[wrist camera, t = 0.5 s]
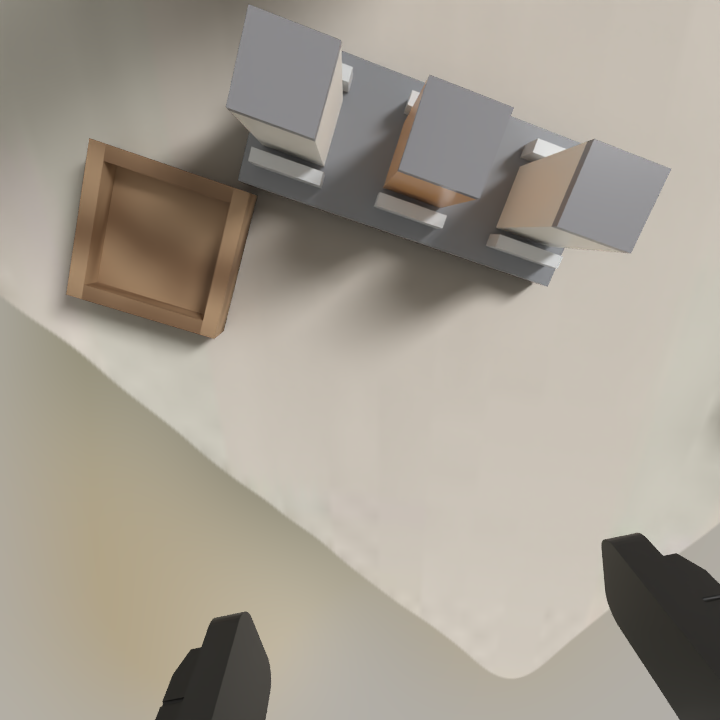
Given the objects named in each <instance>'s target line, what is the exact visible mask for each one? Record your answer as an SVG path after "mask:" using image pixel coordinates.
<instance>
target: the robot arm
mask: <svg viewBox="0 0 720 720" xmlns="http://www.w3.org/2000/svg"><path fill="white" fill-rule="evenodd" d="M602 558H603V570H604V582H605V592H606V598H607V601H608V604H609V607H610V610H611V612H612V614H613V617H614V619H615V621H616V622H617V624H618V626H619V627H620V629H621V630H622V632H623V634H624V635H625V637H626V638H627V639H628V641H629V643H630V644H631V646H632V647H633V649H634V650H635V652H636V653H637V655H638V656H639V658H640V660H641V661H642V663H643V664H644V666H645V667H646V669H647V670H648V672H649V673H650V675H651V676H652V678H653V679H654V681H655V682H656V684H657V685H658V687H659V688H660V690H661V692H662V693H663V695H664V696H665V698H666V699H667V701H668V702H669V704H670V705H671V707H672V708H673V710H674V711H675V713H676V715H677V716H678V718H679V719H680V720H720V584H719V583H718V582H717V581H716V580H715V579H714V578H713V577H712V576H711V575H710V574H709V573H708V572H707V571H706V570H704V569H702V568H701V567H699V566H697V565H696V564H694V563H692V562H690V561H689V560H687V559H685V558H684V557H682V556H680V555H678V554H677V553H676V554H671V555H666V556H663V555H662V554H661V553H660V552H659V551H658V550H657V549H656V548H655V547H654V546H653V545H652V543H651V542H650V541H649V540H648V539H647V538H646V537H645V536H644V535H642V534H640V533H634V534H630V535H625V536H620V537H615V538H610V539H605V540H603V541H602ZM270 688H271V672H270V664H269V660H268V657H267V655H266V652H265V650H264V647H263V645H262V642H261V640H260V638H259V635H258V632H257V630H256V628H255V625H254V623H253V620H252V618H251V616H250V614H249V613H248V612H241V613H237V614H232V615H227V616H222V617H217V618H214V619H213V620H212V621H211V623H210V625H209V627H208V630H207V633H206V636H205V638H204V641H203V644H202V647H201V648H196V649H191V650H190V652H189V653H188V654H187V656H186V657H185V658H184V660H183V661H182V663H181V664H180V665H179V667H178V668H177V670H176V671H175V672H174V674H173V676H172V678H171V681H170V684H169V686H168V689H167V691H166V694H165V696H164V699H163V706H162V707H160V709H159V712H158V714H157V717H156V719H155V720H265V719H266V713H267V707H268V701H269V695H270Z"/></svg>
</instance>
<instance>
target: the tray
mask: <svg viewBox="0 0 720 720" xmlns="http://www.w3.org/2000/svg"><path fill="white" fill-rule="evenodd" d="M256 199H257V196H256V195H254V194H251V193H249V192H246V191H243V190H240V189H237V188H234V187H231V186H228V185H225V184H222V183H219V182H216V181H213V180H210V179H207V178H204V177H202V176H199V175H196V174H193V173H190V172H187V171H184V170H181V169H178V168H175V167H172V166H169V165H166V164H163V163H160V162H158V161H155V160H152V159H149V158H146V157H143V156H140V155H137V154H134V153H131V152H128V151H125V150H122V149H119V148H116V147H113V146H111V145H108V144H105V143H102V142H99V141H96V140H93V139H90V138H89V144H88V151H87V157H86V164H85V171H84V178H83V184H82V191H81V198H80V205H79V211H78V218H77V225H76V232H75V238H74V245H73V252H72V259H71V266H70V272H69V279H68V286H67V293H66V295H70V296H73V297H76V298H80V299H83V300H86V301H90V302H93V303H96V304H100V305H103V306H106V307H110V308H113V309H116V310H120V311H123V312H126V313H130V314H133V315H136V316H140V317H143V318H146V319H150V320H153V321H156V322H160V323H163V324H166V325H170V326H173V327H176V328H180V329H183V330H186V331H190V332H193V333H196V334H200V335H203V336H206V337H210V338H213V339H214V338H216V337H217V336H218V335H219V334H221V333H222V332H223V331H224V327H225V323H226V319H227V315H228V311H229V307H230V303H231V299H232V295H233V291H234V287H235V283H236V279H237V275H238V271H239V267H240V263H241V259H242V255H243V251H244V247H245V243H246V239H247V235H248V231H249V227H250V223H251V219H252V215H253V211H254V207H255V203H256Z"/></svg>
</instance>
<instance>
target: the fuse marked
mask: <svg viewBox="0 0 720 720" xmlns="http://www.w3.org/2000/svg"><path fill="white" fill-rule="evenodd" d="M513 109H514V107H511V106H509V105H506V104H504V103H501V102H498V101H496V100H493V99H491V98H488V97H486V96H483V95H481V94H478V93H475V92H473V91H470V90H468V89H465V88H463V87H460V86H457V85H455V84H452V83H450V82H447V81H445V80H442V79H439V78H437V77H434V76H432V75H429V77H428V79H427V81H426V82H425V84H424V86H423V88H422V90H421V92H420V94H419V96H418V97H417V99H416V101H415V103H414V105H413V107H412V109H411V111H410V112H409V114H408V116H407V118H406V120H405V122H404V124H403V127H402V130H401V133H400V137H399V140H398V143H397V146H396V149H395V152H394V155H393V159H392V162H391V165H390V168H389V171H388V174H387V177H386V180H385V184H384V187H383V188H385V189H388V190H391V191H394V192H396V193H399V194H402V195H405V196H408V197H410V198H413V199H416V200H419V201H422V202H425V203H427V204H430V205H433V206H436V207H439V208H443V207H447V206H451V205H455V204H460V203H464V202H468V201H472V200H476V199H480V196H481V194H482V191H483V188H484V186H485V183H486V180H487V178H488V175H489V172H490V170H491V167H492V164H493V162H494V159H495V156H496V154H497V151H498V148H499V146H500V143H501V140H502V138H503V135H504V133H505V130H506V127H507V125H508V122H509V119H510V117H511V114H512V111H513Z"/></svg>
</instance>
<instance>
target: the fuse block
mask: <svg viewBox="0 0 720 720" xmlns="http://www.w3.org/2000/svg"><path fill="white" fill-rule="evenodd" d="M424 84H425V83H424V82H421V81H419V80H416V79H413V78H411V77H408V76H406V75H403V74H401V73H398V72H395V71H393V70H390V69H388V68H385V67H382V66H380V65H377V64H375V63H372V62H370V61H367V60H364V59H362V58H359V57H357V56H354V55H351V54H349V53H346V52H344V51H342V49H341V40H339V39H337V38H334V37H332V36H329V35H327V34H324V33H321V32H319V31H316V30H314V29H311V28H309V27H306V26H303V25H301V24H298V23H296V22H293V21H291V20H288V19H286V18H283V17H280V16H278V15H275V14H273V13H270V12H268V11H265V10H262V9H260V8H257V7H255V6H252V5H250V4H248V9H247V13H246V18H245V22H244V27H243V31H242V36H241V41H240V45H239V50H238V54H237V59H236V63H235V68H234V72H233V77H232V81H231V86H230V91H229V95H228V100H227V104H226V108H227V109H228V110H229V111H230V112H231V113H232V114H233V115H234V116H235V117H236V118H237V119H238V120H239V121H240V122H241V123H242V124H243V125H244V126H245V127H246V128H247V129H248V130H249V136H248V140H247V144H246V148H245V153H244V157H243V161H242V165H241V170H240V174H239V178H238V181H240V182H242V183H245V184H247V185H250V186H253V187H256V188H259V189H262V190H265V191H268V192H271V193H274V194H277V195H280V196H282V197H285V198H288V199H291V200H294V201H297V202H300V203H303V204H306V205H309V206H312V207H315V208H317V209H320V210H323V211H326V212H329V213H332V214H335V215H338V216H341V217H344V218H347V219H350V220H352V221H355V222H358V223H361V224H364V225H367V226H370V227H373V228H376V229H379V230H382V231H385V232H388V233H390V234H393V235H396V236H399V237H402V238H405V239H408V240H411V241H414V242H417V243H420V244H423V245H425V246H428V247H431V248H434V249H437V250H440V251H443V252H446V253H449V254H452V255H455V256H458V257H460V258H463V259H466V260H469V261H472V262H475V263H478V264H481V265H484V266H487V267H490V268H493V269H495V270H498V271H501V272H504V273H507V274H510V275H513V276H516V277H519V278H522V279H525V280H528V281H531V282H533V283H536V284H540V285H544V286H547V287H548V284H549V282H550V280H551V278H552V275H553V273H554V271H555V268H557V269H558V267H559V264H560V262H561V260H562V258H563V256H561V255H562V252H563V250H564V248H571V249H583V250H596V251H608V252H621V253H631V252H632V250H633V248H634V246H635V244H636V242H637V240H638V238H639V235H640V233H641V231H642V229H643V227H644V225H645V223H646V221H647V219H648V217H649V215H650V212H651V210H652V208H653V206H654V204H655V202H656V200H657V198H658V196H659V194H660V192H661V189H662V187H663V185H664V183H665V181H666V179H667V177H668V175H669V173H670V171H671V169H670V168H668V167H665V166H663V165H660V164H658V163H655V162H652V161H650V160H647V159H645V158H642V157H640V156H637V155H634V154H632V153H629V152H627V151H624V150H622V149H619V148H616V147H614V146H611V145H609V144H606V143H604V142H601V141H599V140H596V139H593V140H590V141H587V142H585V143H582V144H581V143H579V142H576V141H574V140H571V139H568V138H566V137H563V136H561V135H558V134H556V133H553V132H550V131H548V130H545V129H543V128H540V127H537V126H535V125H532V124H530V123H527V122H525V121H522V120H519V119H517V118H514V117H512V116H511V117H510V119H509V122H508V125H507V127H506V130H505V133H504V135H503V138H502V140H501V143H500V146H499V148H498V151H497V154H496V156H495V159H494V162H493V164H492V167H491V170H490V172H489V175H488V178H487V180H486V183H485V186H484V188H483V191H482V194H481V196H480V199H476V200H472V201H468V202H464V203H460V204H455V205H451V206H447V207H443V208H439V207H436V206H433V205H430V204H427V203H425V202H422V201H419V200H416V199H413V198H410V197H408V196H405V195H402V194H399V193H396V192H394V191H391V190H388V189H385V188H383V187H384V184H385V180H386V177H387V174H388V171H389V168H390V165H391V162H392V159H393V155H394V152H395V149H396V146H397V143H398V140H399V137H400V133H401V130H402V127H403V124H404V122H405V120H406V118H407V116H408V114H409V112H410V111H411V109H412V107H413V105H414V103H415V101H416V99H417V97H418V96H419V94H420V92H421V90H422V88H423V86H424Z"/></svg>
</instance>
